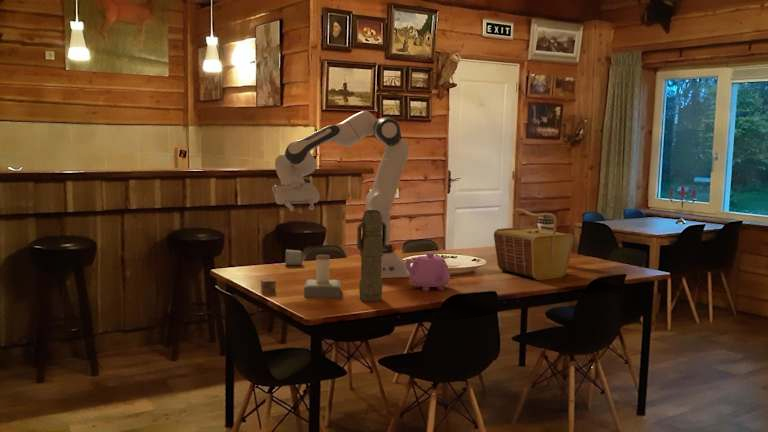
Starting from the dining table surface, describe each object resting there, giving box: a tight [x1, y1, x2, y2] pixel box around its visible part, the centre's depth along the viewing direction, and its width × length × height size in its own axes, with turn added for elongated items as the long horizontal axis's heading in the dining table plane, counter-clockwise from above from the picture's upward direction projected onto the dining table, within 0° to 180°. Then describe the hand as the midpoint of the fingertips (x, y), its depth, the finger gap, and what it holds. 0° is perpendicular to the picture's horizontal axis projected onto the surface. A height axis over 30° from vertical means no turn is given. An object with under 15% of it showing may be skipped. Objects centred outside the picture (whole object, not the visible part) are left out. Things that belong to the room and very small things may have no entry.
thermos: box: [356, 210, 386, 303], centre depth 281 cm, size 9×12×35 cm
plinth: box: [303, 279, 341, 299], centre depth 291 cm, size 14×14×4 cm
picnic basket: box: [493, 208, 575, 281], centre depth 339 cm, size 29×26×30 cm
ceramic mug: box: [284, 249, 304, 267], centre depth 352 cm, size 11×8×8 cm
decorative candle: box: [536, 215, 554, 231], centre depth 369 cm, size 9×9×25 cm
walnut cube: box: [260, 278, 277, 295], centre depth 292 cm, size 5×5×5 cm
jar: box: [315, 254, 331, 284], centre depth 290 cm, size 5×5×11 cm
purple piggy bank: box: [405, 252, 451, 292], centre depth 303 cm, size 20×20×15 cm
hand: (302, 209), depth 311 cm, fingers open, 8 cm apart
